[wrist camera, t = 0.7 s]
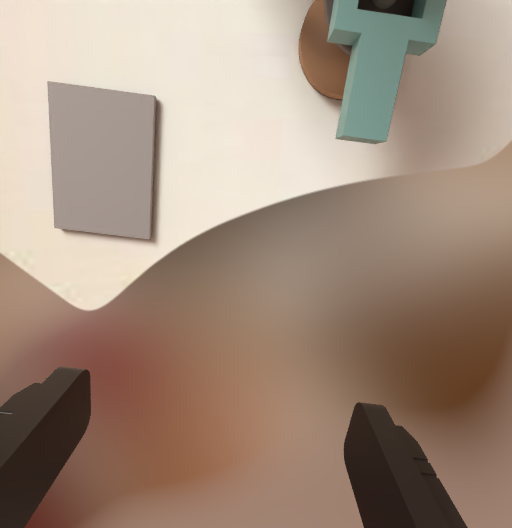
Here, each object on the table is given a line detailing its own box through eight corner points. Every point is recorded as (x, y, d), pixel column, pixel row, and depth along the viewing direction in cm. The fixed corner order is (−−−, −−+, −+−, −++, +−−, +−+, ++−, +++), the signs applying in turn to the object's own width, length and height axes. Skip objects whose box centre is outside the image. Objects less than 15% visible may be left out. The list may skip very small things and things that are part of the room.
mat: (51, 83, 30) (47, 81, 30) (156, 97, 31) (154, 95, 30) (57, 226, 34) (54, 227, 33) (151, 238, 34) (149, 239, 34)
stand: (307, -19, 28) (351, -187, 15) (405, -4, 28) (533, -155, 15) (291, 92, 30) (318, 31, 17) (382, 105, 31) (475, 54, 18)
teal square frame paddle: (346, -77, 20) (355, -104, 18) (446, -61, 20) (467, -86, 18) (312, 135, 23) (317, 131, 21) (398, 147, 23) (411, 144, 21)
